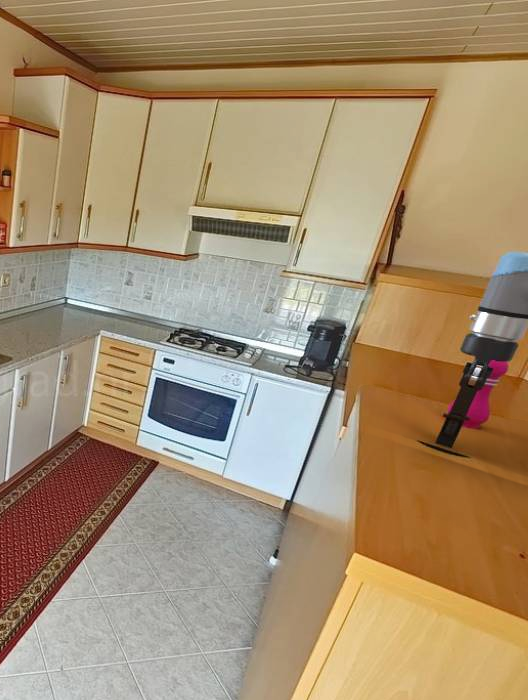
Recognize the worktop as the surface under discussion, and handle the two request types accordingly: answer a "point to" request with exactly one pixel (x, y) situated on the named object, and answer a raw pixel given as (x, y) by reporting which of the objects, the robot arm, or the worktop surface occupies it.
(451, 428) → the robot arm
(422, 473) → the worktop surface
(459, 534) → the worktop surface
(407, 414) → the worktop surface
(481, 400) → the pepper mill
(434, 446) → the plate
